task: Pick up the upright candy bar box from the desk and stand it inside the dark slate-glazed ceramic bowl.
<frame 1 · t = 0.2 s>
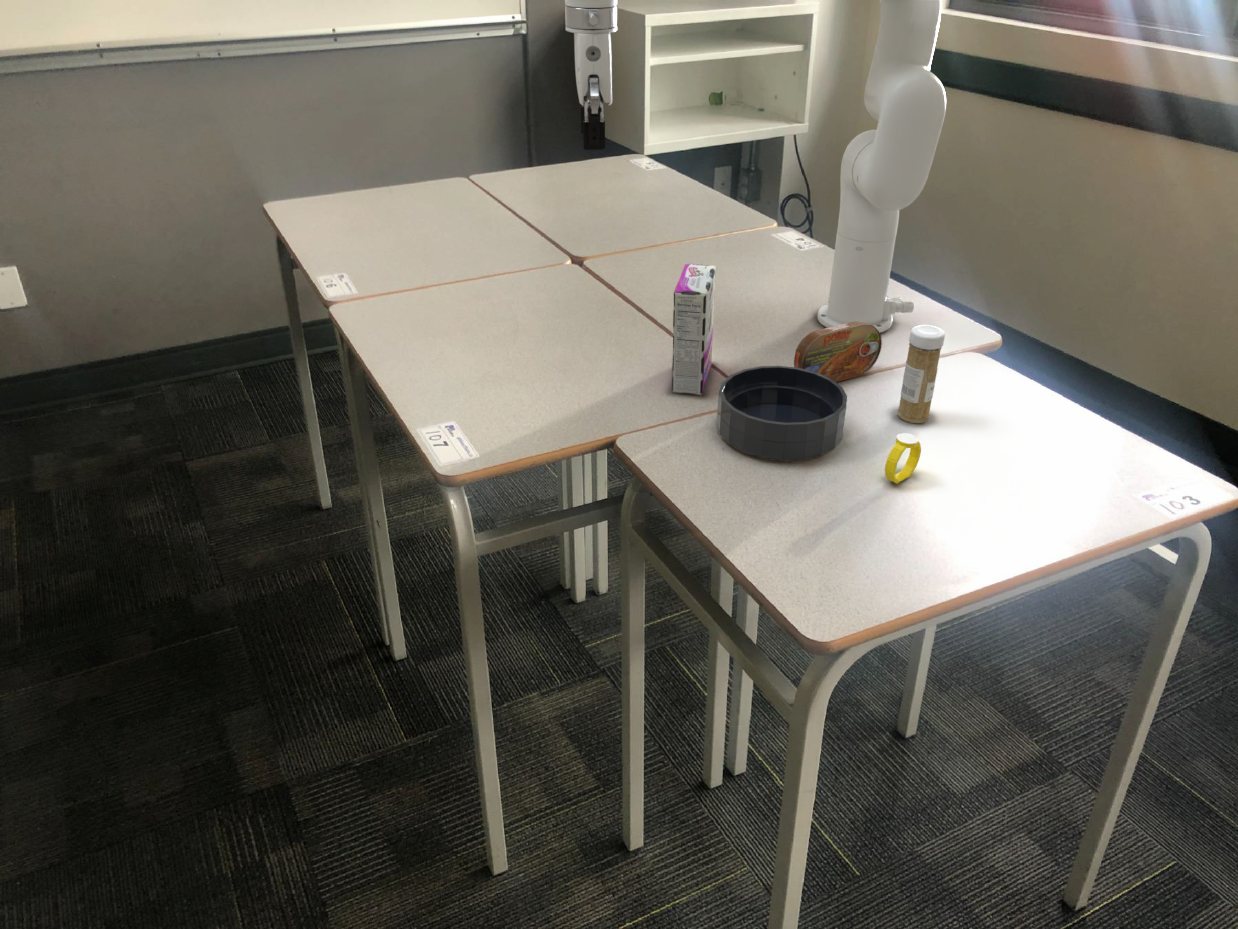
hand: (592, 140, 151), 31 cm above the table, tool pointing down, fingers open, 9 cm apart
candy bar box: (691, 379, 152), on the table
bowl: (778, 431, 138), on the table
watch: (899, 479, 128), on the table
tin: (834, 378, 152), on the table
spice jar: (912, 417, 142), on the table
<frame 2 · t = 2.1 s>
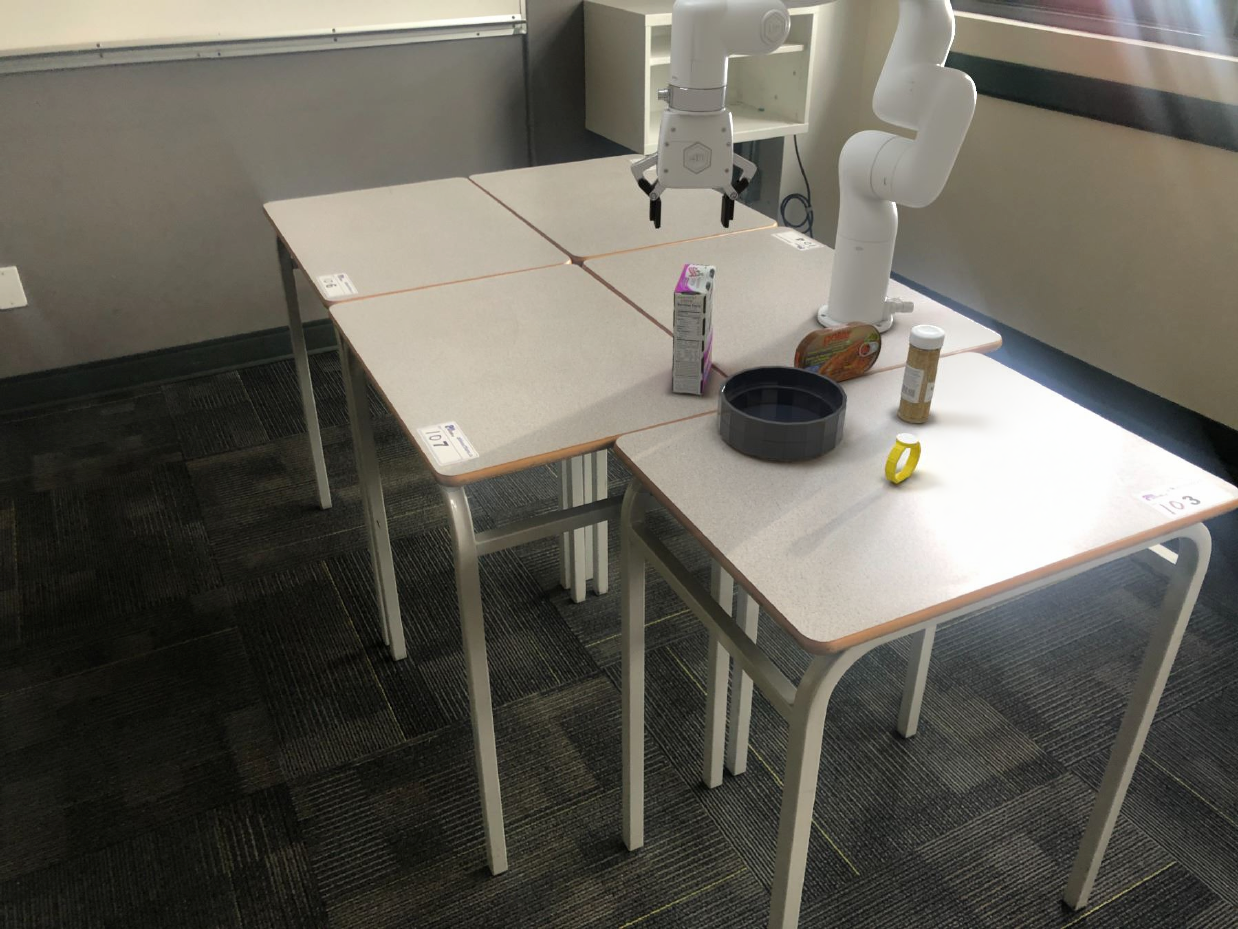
hand: (690, 225, 140), 24 cm above the table, tool pointing down, fingers open, 9 cm apart
nothing on the table moved.
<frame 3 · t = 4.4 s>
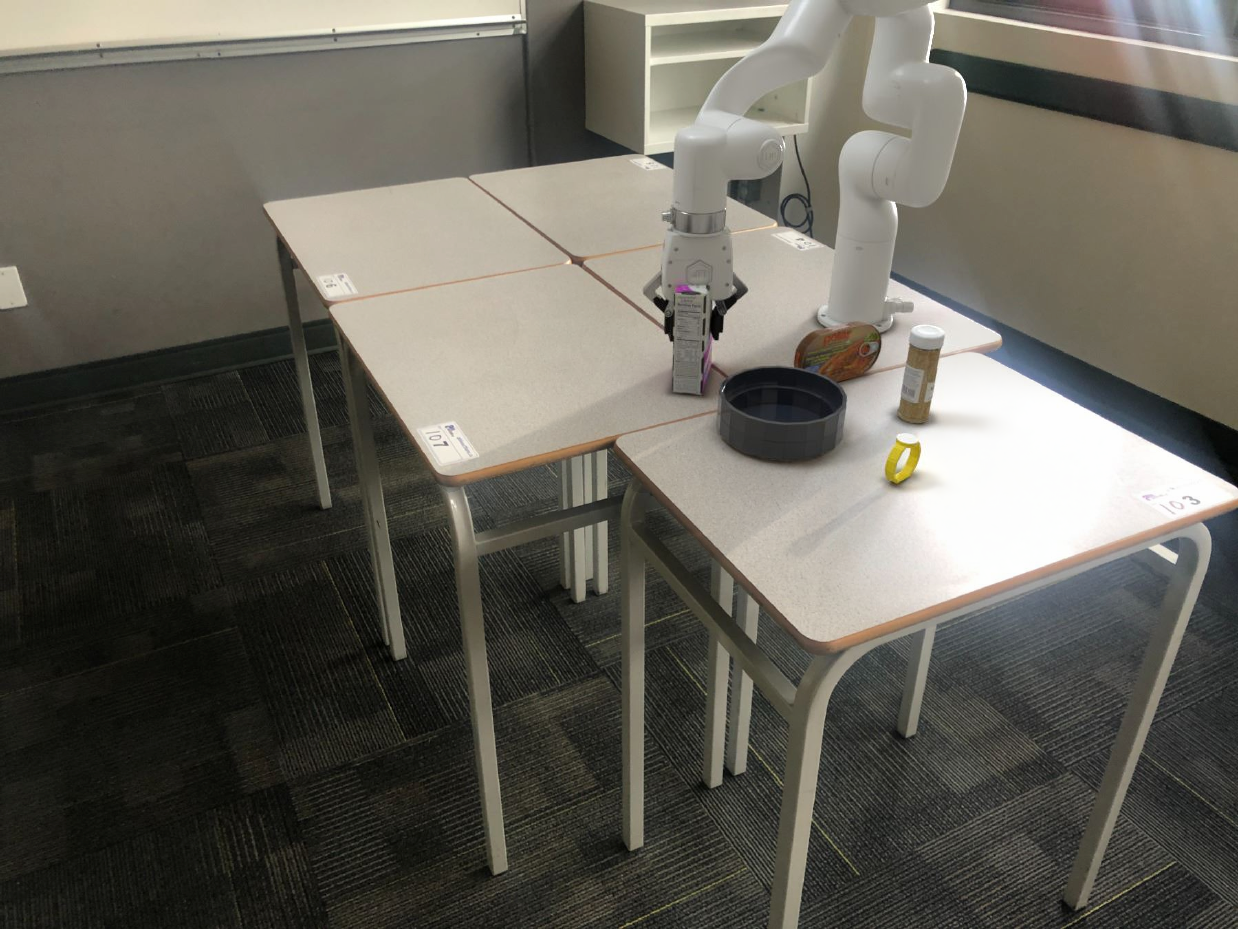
hand: (693, 336, 148), 7 cm above the table, tool pointing down, fingers closed on candy bar box, 5 cm apart
candy bar box: (691, 380, 152), on the table, touching gripper
everything else where it was.
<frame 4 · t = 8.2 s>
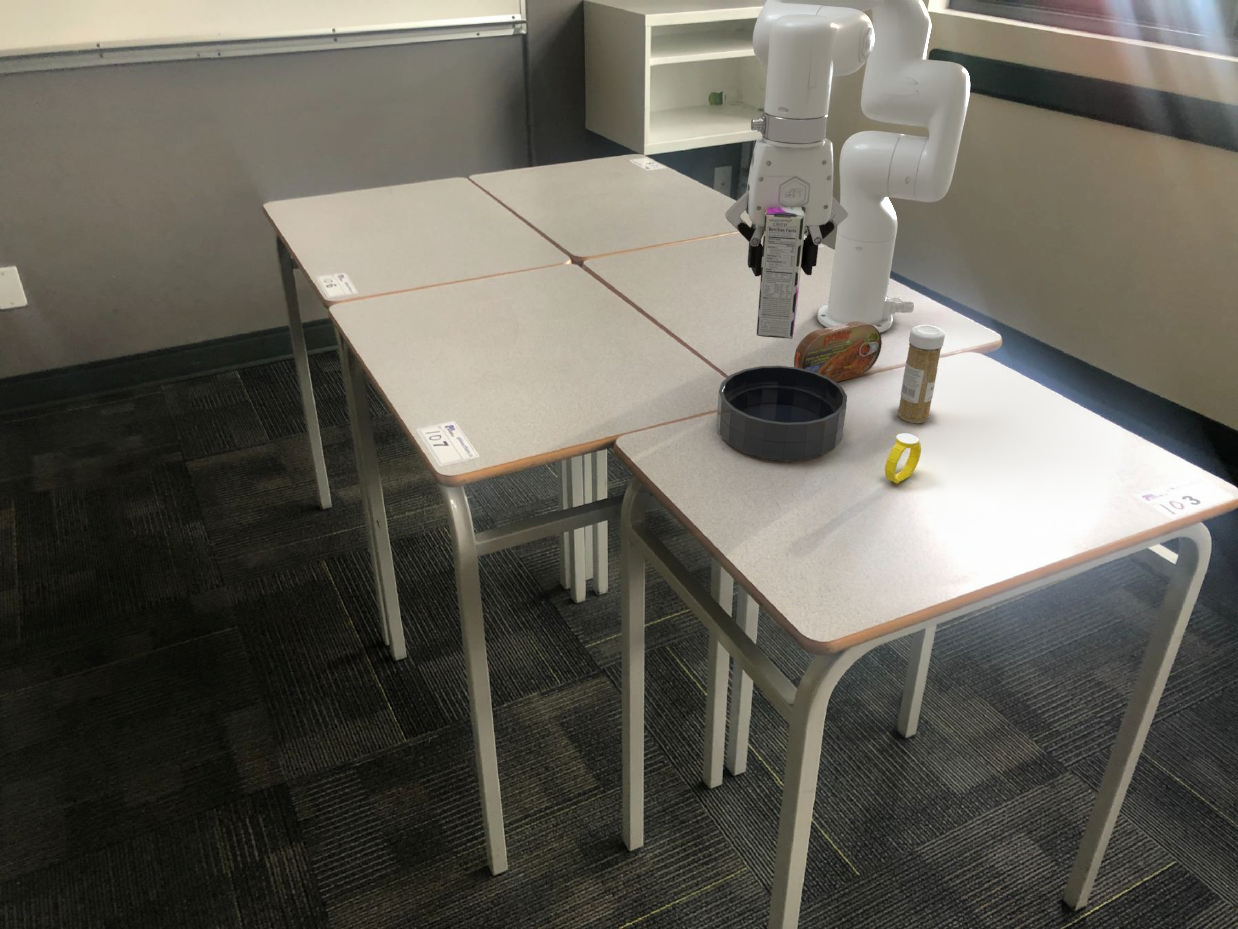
hand: (781, 270, 128), 23 cm above the table, tool pointing down, fingers closed on candy bar box, 5 cm apart
candy bar box: (776, 322, 132), point 15 cm above the table, touching gripper
everything else where it was.
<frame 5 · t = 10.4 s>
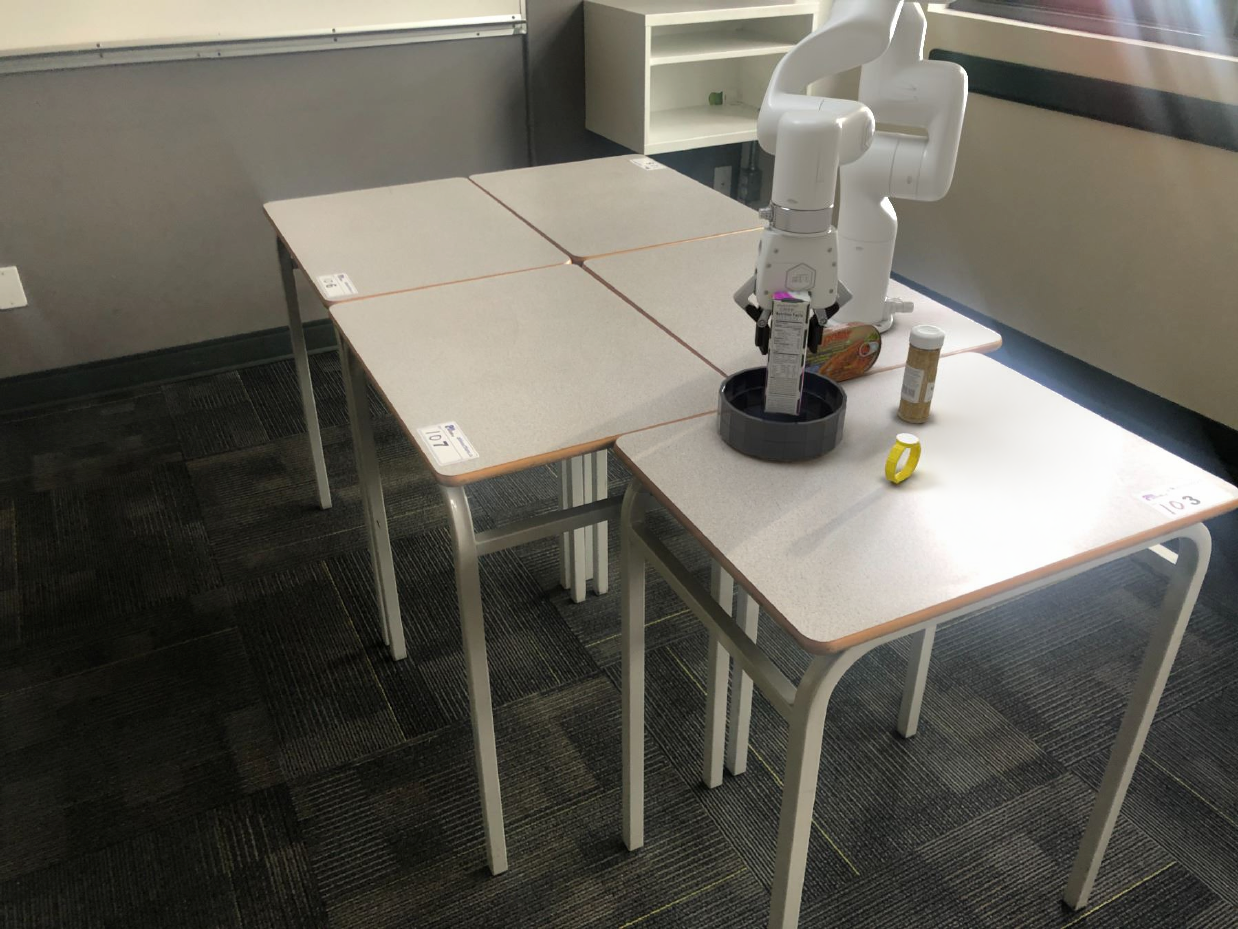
hand: (787, 348, 131), 13 cm above the table, tool pointing down, fingers closed on candy bar box, 5 cm apart
candy bar box: (782, 397, 135), point 5 cm above the table, touching gripper
everything else where it was.
when the fingers open (8 cm above the table, at t = 12.1 s): candy bar box stays where it is, resting on bowl.
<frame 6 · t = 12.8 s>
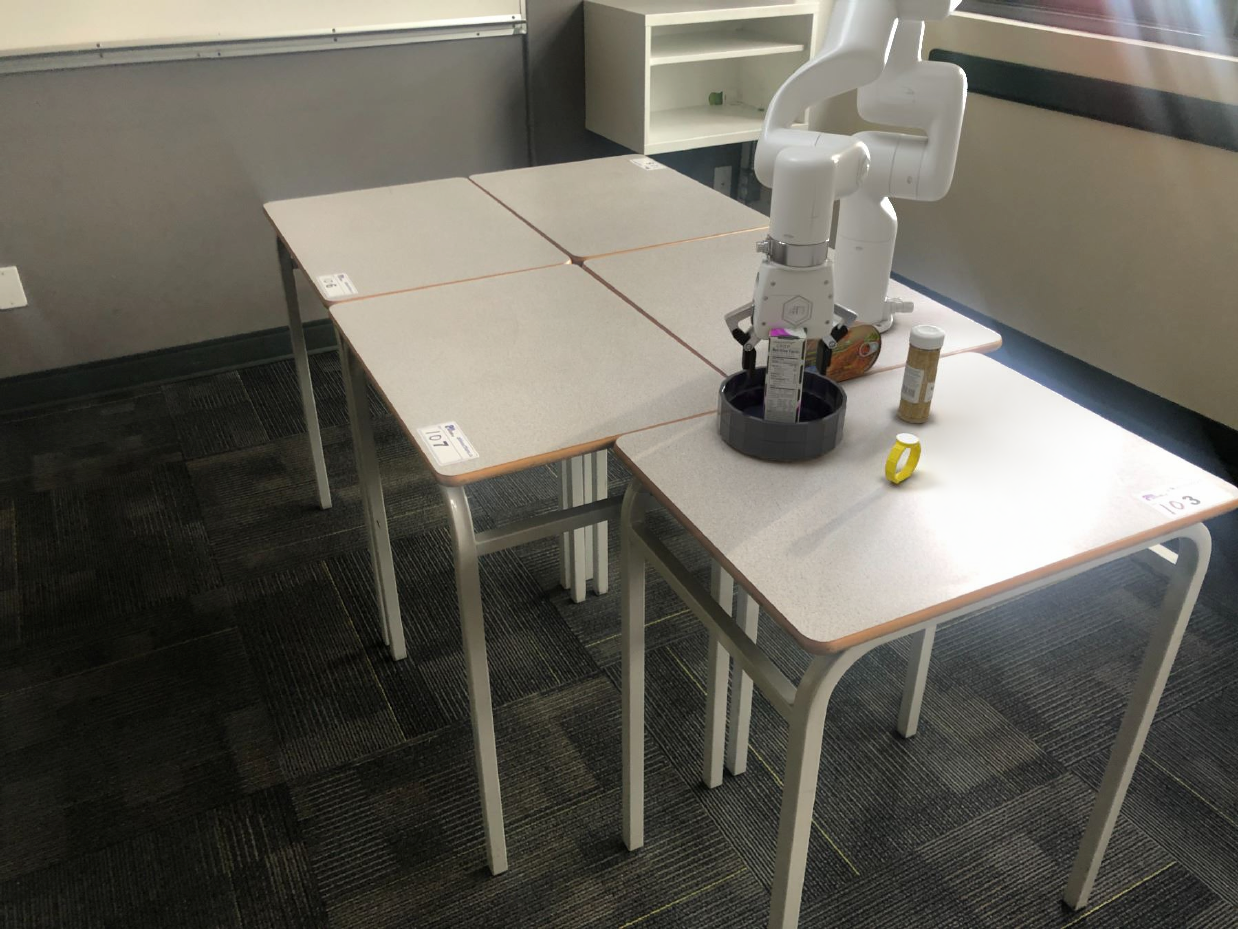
hand: (785, 372, 133), 9 cm above the table, tool pointing down, fingers open, 9 cm apart
candy bar box: (779, 429, 138), resting on bowl
everything else where it was.
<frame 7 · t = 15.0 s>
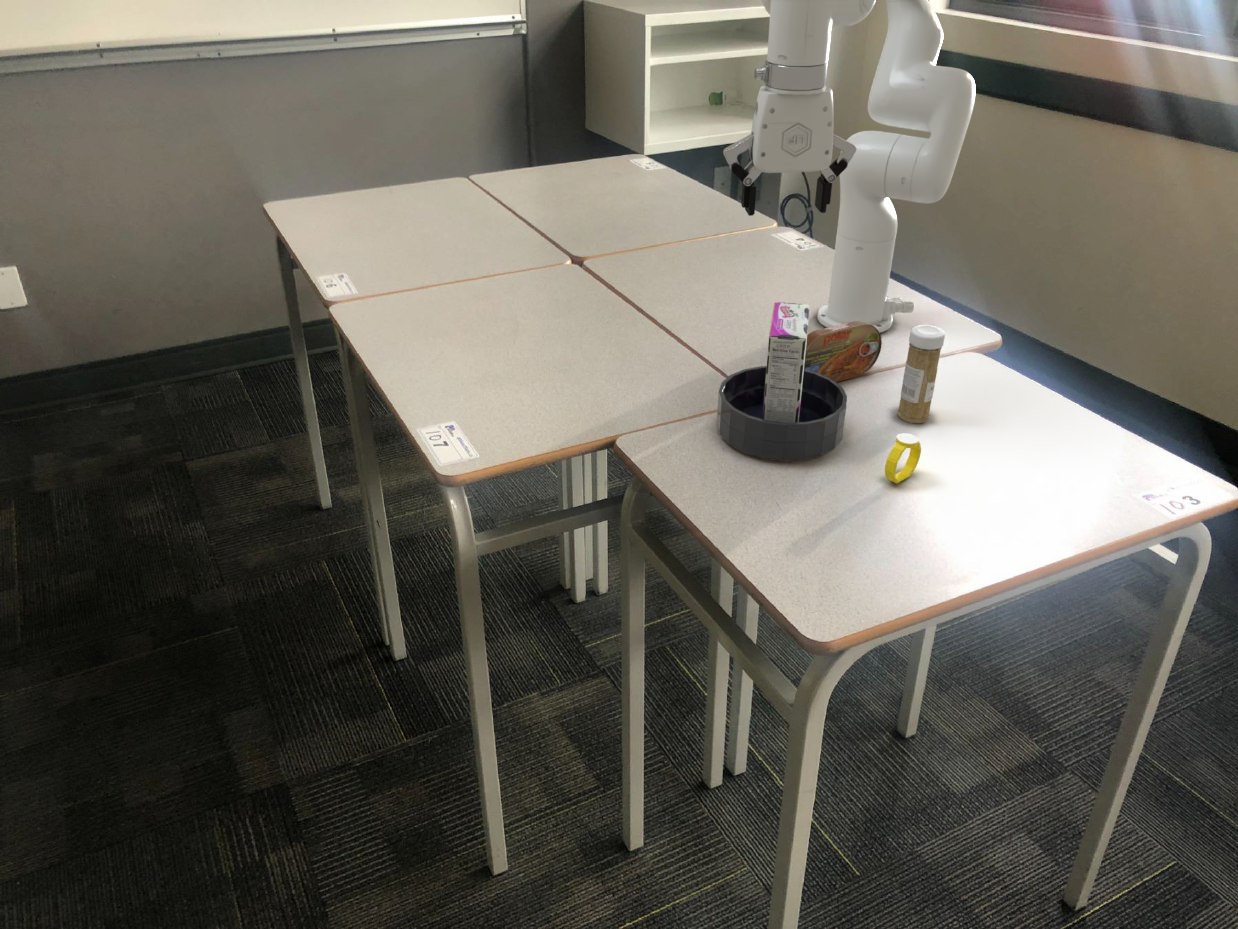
hand: (784, 210, 133), 28 cm above the table, tool pointing down, fingers open, 9 cm apart
nothing on the table moved.
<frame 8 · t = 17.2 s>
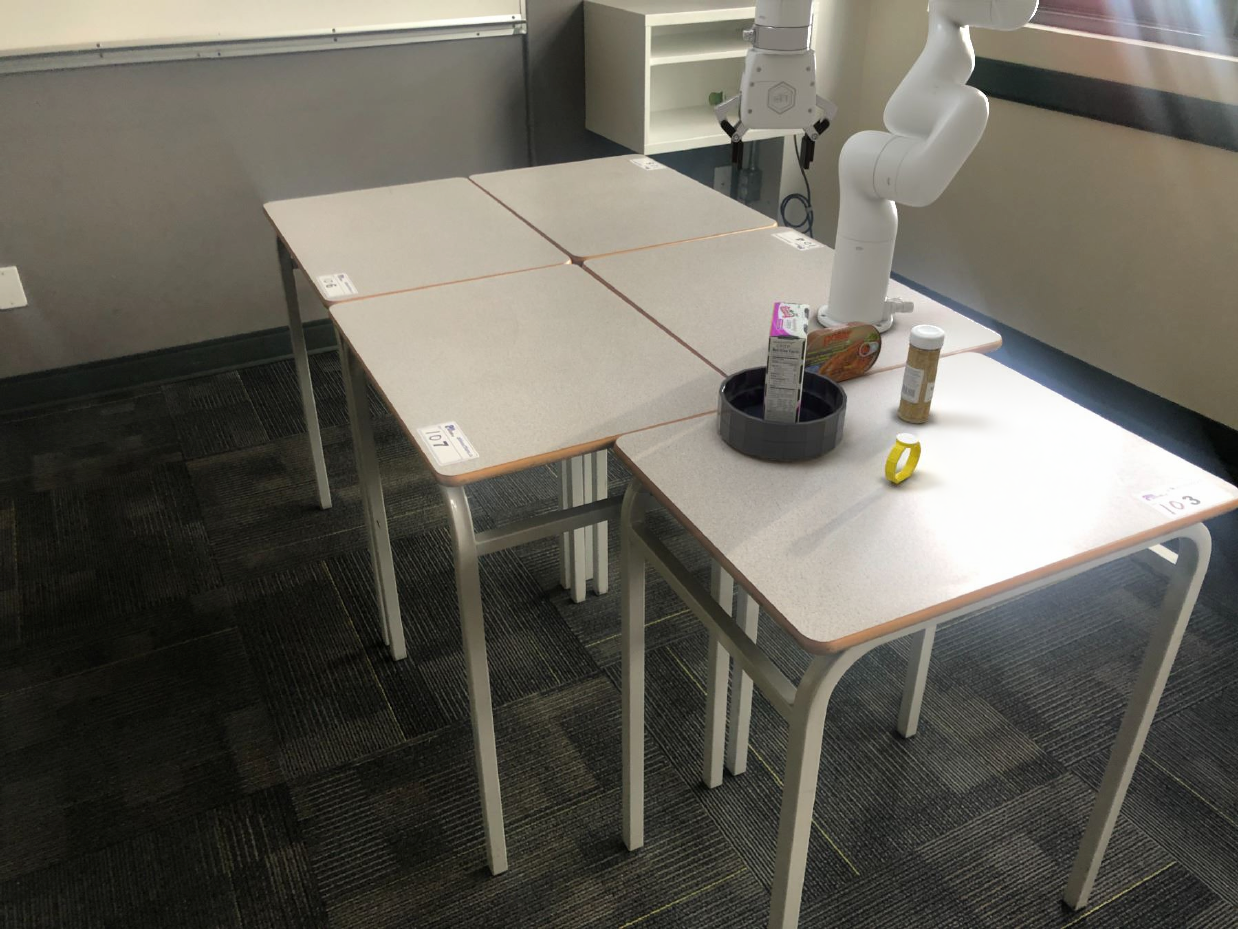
hand: (770, 167, 142), 30 cm above the table, tool pointing down, fingers open, 9 cm apart
nothing on the table moved.
at the end: candy bar box inside the target area in the bowl (0.1 cm from its centre), point 0.4 cm above the bowl's base; the gripper is holding nothing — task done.
